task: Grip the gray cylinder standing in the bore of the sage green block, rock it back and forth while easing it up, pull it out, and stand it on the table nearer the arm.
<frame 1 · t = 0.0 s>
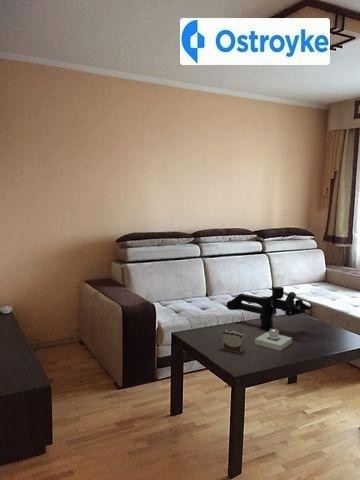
hand: (308, 310, 226), 17 cm above the table, tool horizontal, fingers open, 9 cm apart
bore block: (273, 343, 218), on the table
gray cylinder: (273, 336, 218), in the bore block
food container: (234, 349, 209), on the table
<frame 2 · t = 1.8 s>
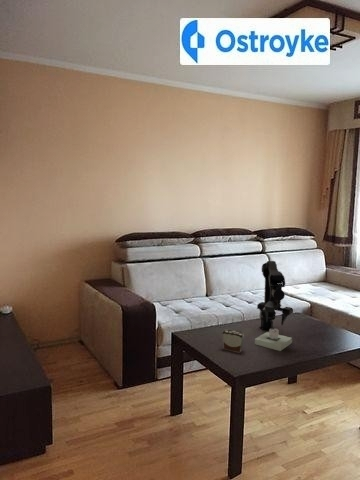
hand: (274, 323, 217), 11 cm above the table, tool pointing down, fingers open, 9 cm apart
nothing on the table moved.
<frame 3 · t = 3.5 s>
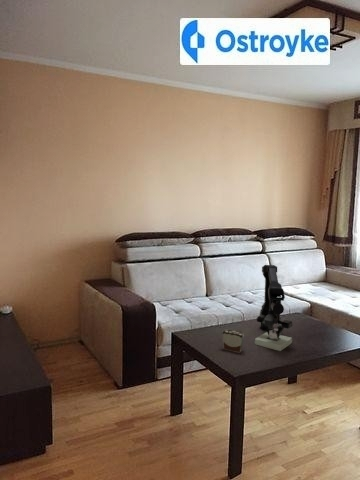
hand: (273, 336, 218), 4 cm above the table, tool pointing down, fingers closed on gray cylinder, 5 cm apart
gray cylinder: (273, 336, 218), in the bore block, touching gripper
everything else where it was.
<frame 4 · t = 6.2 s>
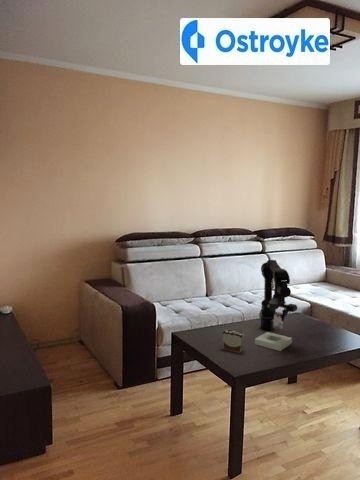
hand: (278, 320, 218), 13 cm above the table, tool pointing down, fingers closed on gray cylinder, 5 cm apart
gray cylinder: (278, 320, 218), point 13 cm above the table, touching gripper
everything else where it was.
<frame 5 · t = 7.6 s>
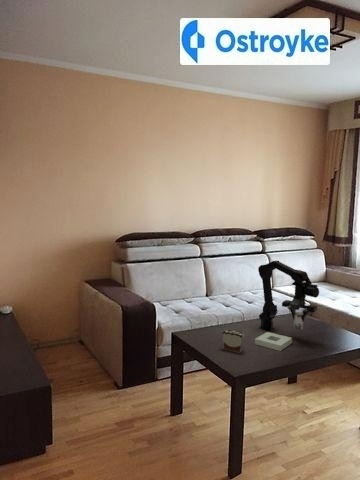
hand: (298, 320, 225), 11 cm above the table, tool pointing down, fingers closed on gray cylinder, 5 cm apart
gray cylinder: (298, 320, 225), point 11 cm above the table, touching gripper
everything else where it was.
when the fingers open (5 cm above the table, at t = 8.8 s): gray cylinder drops 1 cm, on the table.
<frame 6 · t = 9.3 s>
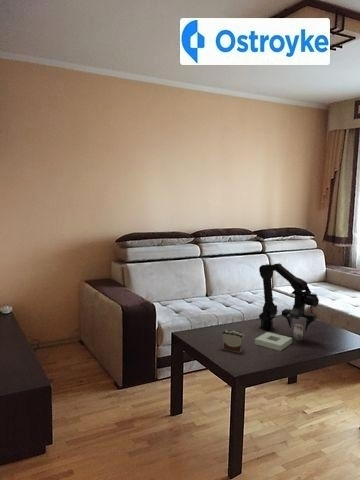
hand: (298, 329, 225), 5 cm above the table, tool pointing down, fingers open, 9 cm apart
gray cylinder: (298, 332, 225), on the table
everything else where it was.
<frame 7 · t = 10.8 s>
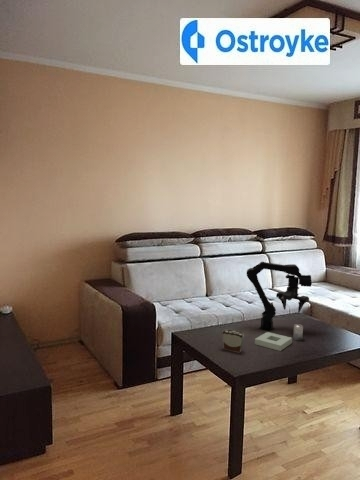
hand: (291, 310, 240), 12 cm above the table, tool pointing down, fingers open, 9 cm apart
nothing on the table moved.
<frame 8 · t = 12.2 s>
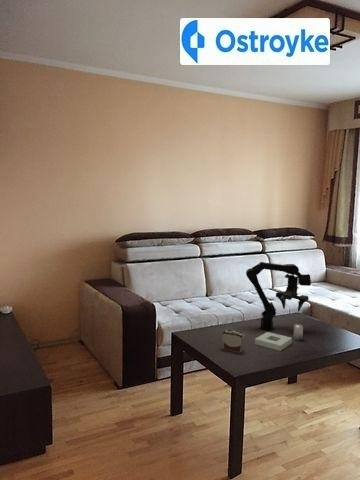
hand: (291, 310, 241), 12 cm above the table, tool pointing down, fingers open, 9 cm apart
nothing on the table moved.
at the end: gray cylinder inside the target area (0.1 cm from its centre), on the table; gray cylinder tilted 1°; gray cylinder touching table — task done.
